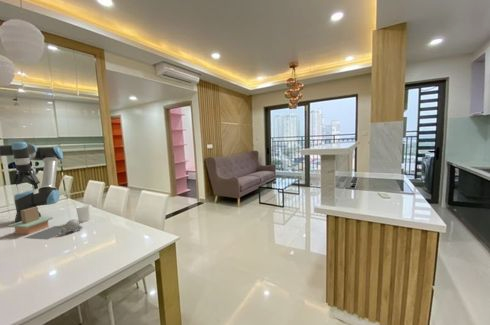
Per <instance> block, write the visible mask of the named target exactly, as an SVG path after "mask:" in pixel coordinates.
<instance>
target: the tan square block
mask: <svg viewBox="0 0 490 325" xmlns="http://www.w3.org/2000/svg"><path fill="white" fill-rule="evenodd" d="M48 228H49V220H48V221H45V222H42V223H39V224H36V225H33V226H30V227H28V228H21V227H14V231H15V235H18V234H21V235H22V234H23V235H32V234H33V233H34V234H35V233H37V232H40V231H43V230H45V229H48Z"/></svg>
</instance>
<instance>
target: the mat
mask: <svg viewBox="0 0 490 325" xmlns="http://www.w3.org/2000/svg"><path fill="white" fill-rule="evenodd" d="M61 227H62V228H63V227H66V225H64V226H62V225H54V226H51V227H50V228H49V227H48V228H45V229H42V230H40V231H37V232H35V233H34V234H33V233H32V234H29V235H28V236H25V237H24V239H33V240H49V239H52V238H54V237H56V236H59V235H60V234H59V233H61Z"/></svg>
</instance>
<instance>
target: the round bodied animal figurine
mask: <svg viewBox="0 0 490 325" xmlns="http://www.w3.org/2000/svg"><path fill="white" fill-rule="evenodd" d="M81 229H83V226H82V225H81V223H80V222H79V219H70V220H68V221H67V222H66V223H65V227H63V228H62V227H61V233H59V235H60V236H65V235H67V234H68V233H69V232H70V231H71V232H73V233H77V232H79V230H81Z"/></svg>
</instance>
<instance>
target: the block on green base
mask: <svg viewBox="0 0 490 325" xmlns="http://www.w3.org/2000/svg"><path fill="white" fill-rule="evenodd" d="M38 211H39V206H37V207H32V208H29V209H25V210H21V211H20V212H21V217H22V221H21V222H18V223H15V222H14V223H12V224H11V223H10V224H8V225H7V228H15V227H21V228H28V227H30V226H33V225H36V224H39V223H42V222H45V221H48V222H49V221H50V220H53V219H54V218H53V217H52V216H41V217H39V213H40V211H39V212H38Z"/></svg>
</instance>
